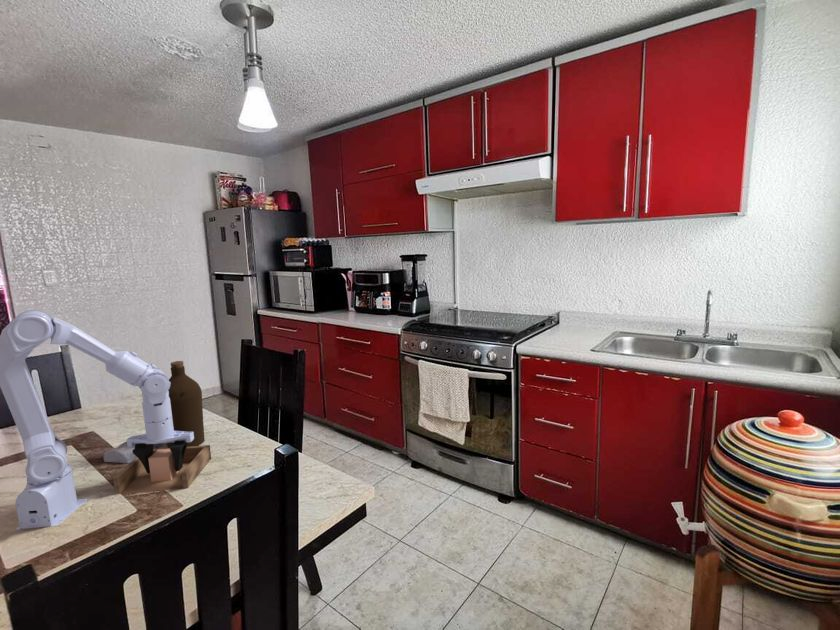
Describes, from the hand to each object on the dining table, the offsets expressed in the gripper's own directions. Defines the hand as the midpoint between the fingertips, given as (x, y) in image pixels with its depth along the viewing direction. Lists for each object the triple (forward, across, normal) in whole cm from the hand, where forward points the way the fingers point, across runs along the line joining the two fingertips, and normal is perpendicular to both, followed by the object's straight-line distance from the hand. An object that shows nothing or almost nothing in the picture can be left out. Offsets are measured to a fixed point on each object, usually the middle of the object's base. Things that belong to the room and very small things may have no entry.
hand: (165, 470), depth 102 cm
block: (+2, 0, 0) cm, 2 cm away
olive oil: (+2, +3, -18) cm, 19 cm away
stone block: (+3, +16, -15) cm, 22 cm away
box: (+2, 0, 0) cm, 2 cm away
